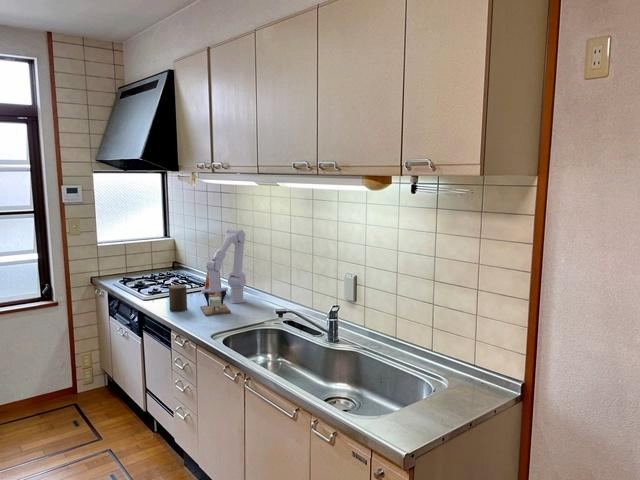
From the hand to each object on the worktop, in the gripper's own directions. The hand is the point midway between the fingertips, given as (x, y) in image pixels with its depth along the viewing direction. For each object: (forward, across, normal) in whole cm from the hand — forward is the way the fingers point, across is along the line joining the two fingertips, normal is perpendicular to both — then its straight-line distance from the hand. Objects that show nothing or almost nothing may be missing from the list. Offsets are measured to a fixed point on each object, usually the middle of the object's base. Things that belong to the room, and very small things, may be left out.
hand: (215, 304), depth 275 cm
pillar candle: (+4, -19, +10) cm, 22 cm away
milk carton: (+4, +6, +36) cm, 36 cm away
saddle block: (+2, 0, 0) cm, 2 cm away
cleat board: (+3, 0, 0) cm, 3 cm away
